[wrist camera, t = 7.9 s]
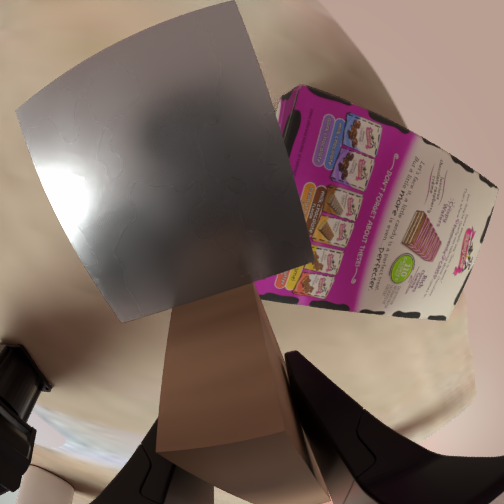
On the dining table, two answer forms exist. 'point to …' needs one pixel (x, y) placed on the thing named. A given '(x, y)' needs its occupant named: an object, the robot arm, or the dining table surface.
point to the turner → (188, 234)
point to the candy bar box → (377, 212)
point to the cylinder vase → (43, 488)
